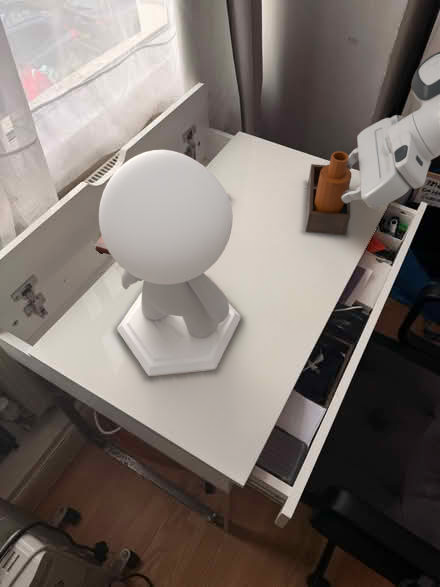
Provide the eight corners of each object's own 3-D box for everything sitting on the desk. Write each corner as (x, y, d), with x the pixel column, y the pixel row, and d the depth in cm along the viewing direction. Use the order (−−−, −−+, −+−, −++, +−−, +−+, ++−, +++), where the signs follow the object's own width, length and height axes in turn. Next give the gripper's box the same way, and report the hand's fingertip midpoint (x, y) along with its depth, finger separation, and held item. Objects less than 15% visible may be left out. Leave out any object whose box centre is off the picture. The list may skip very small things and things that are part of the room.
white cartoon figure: (252, 295, 84) (263, 138, 56) (201, 398, 72) (182, 264, 44) (162, 264, 89) (130, 105, 61) (100, 356, 77) (25, 210, 49)
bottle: (339, 209, 97) (356, 148, 84) (339, 228, 93) (356, 167, 80) (312, 206, 98) (324, 145, 85) (311, 225, 94) (323, 165, 81)
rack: (343, 186, 102) (348, 166, 98) (344, 235, 93) (350, 216, 89) (307, 183, 103) (311, 164, 99) (305, 231, 94) (309, 213, 90)
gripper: (394, 99, 82) (332, 141, 91) (406, 168, 71) (333, 208, 79) (411, 122, 86) (349, 160, 94) (424, 191, 74) (353, 227, 83)
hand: (342, 182), depth 87 cm, fingers open, 8 cm apart
